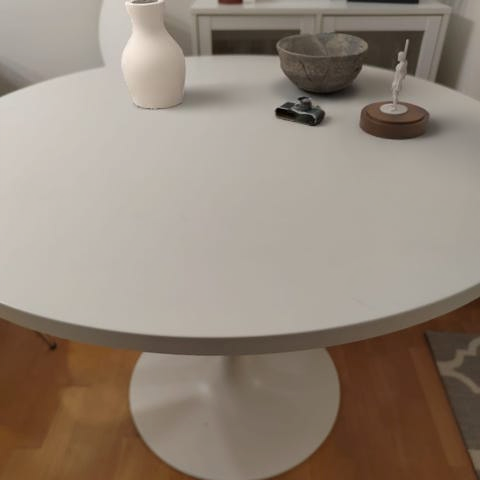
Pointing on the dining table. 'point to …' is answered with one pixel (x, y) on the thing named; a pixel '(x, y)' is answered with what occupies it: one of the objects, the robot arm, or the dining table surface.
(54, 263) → the dining table surface
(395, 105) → the figurine
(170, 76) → the vase
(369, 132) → the stand
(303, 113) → the camera
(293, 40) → the bowl
